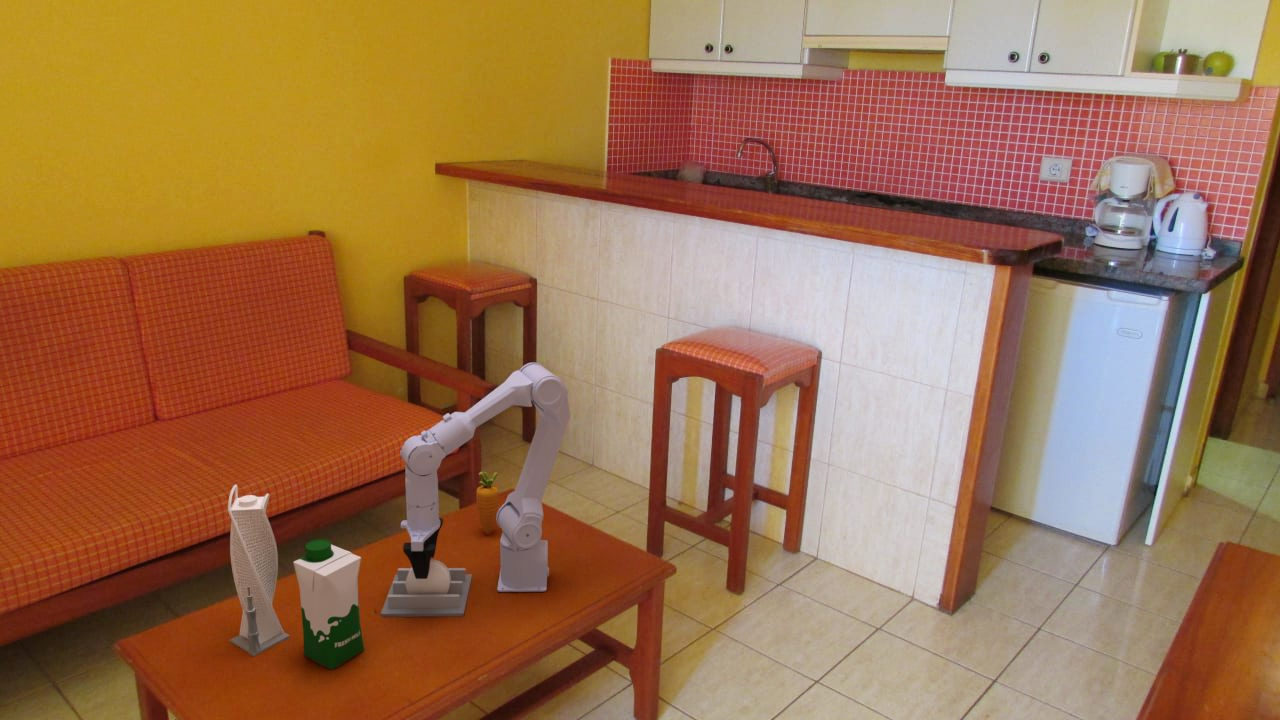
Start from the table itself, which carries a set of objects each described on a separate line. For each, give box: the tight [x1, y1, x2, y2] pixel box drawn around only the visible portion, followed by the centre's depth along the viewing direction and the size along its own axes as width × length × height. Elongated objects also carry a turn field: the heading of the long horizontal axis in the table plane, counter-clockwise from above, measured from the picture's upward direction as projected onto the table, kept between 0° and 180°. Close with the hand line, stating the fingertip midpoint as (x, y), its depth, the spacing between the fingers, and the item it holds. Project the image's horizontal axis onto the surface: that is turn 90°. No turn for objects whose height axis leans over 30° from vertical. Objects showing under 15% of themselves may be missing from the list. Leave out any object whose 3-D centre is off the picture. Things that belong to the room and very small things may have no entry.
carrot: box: [475, 471, 500, 535], centre depth 194 cm, size 5×5×15 cm
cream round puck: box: [406, 558, 451, 595], centre depth 168 cm, size 8×2×8 cm, turn 94°
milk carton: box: [292, 538, 365, 671], centre depth 150 cm, size 9×9×20 cm
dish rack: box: [380, 567, 473, 618], centre depth 171 cm, size 15×14×3 cm
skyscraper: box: [227, 483, 291, 657], centre depth 153 cm, size 8×8×28 cm
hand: (425, 567), depth 167 cm, fingers open, 7 cm apart
